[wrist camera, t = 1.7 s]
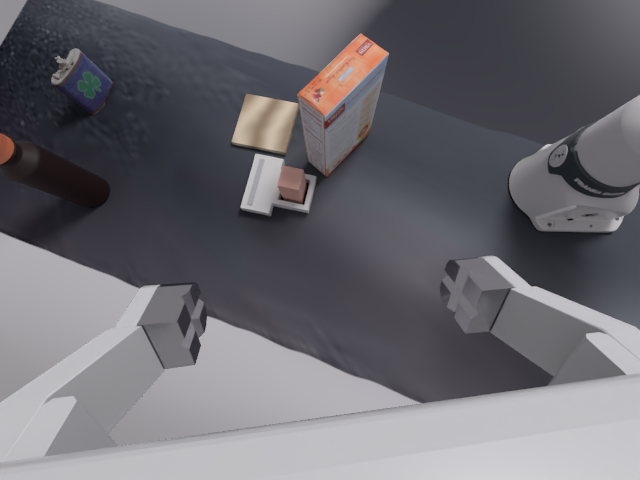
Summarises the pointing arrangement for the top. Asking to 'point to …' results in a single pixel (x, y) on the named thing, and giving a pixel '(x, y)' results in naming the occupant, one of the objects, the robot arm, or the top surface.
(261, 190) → the dispenser
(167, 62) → the top surface
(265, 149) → the board
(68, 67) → the flask
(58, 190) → the bottle
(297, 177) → the block
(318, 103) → the cracker box
